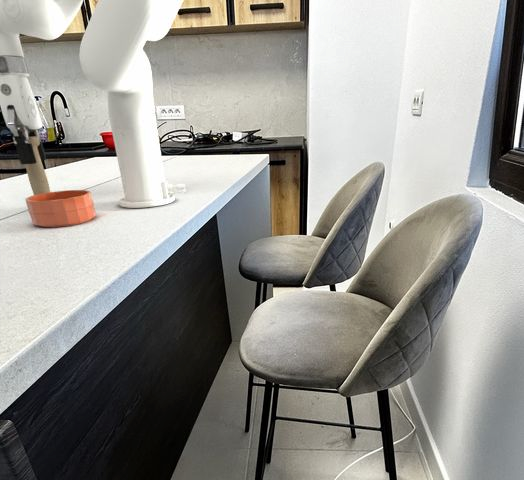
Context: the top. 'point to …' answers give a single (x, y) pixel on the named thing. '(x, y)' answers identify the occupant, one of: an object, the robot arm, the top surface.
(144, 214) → the top surface
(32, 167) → the handle
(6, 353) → the top surface
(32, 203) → the bowl
